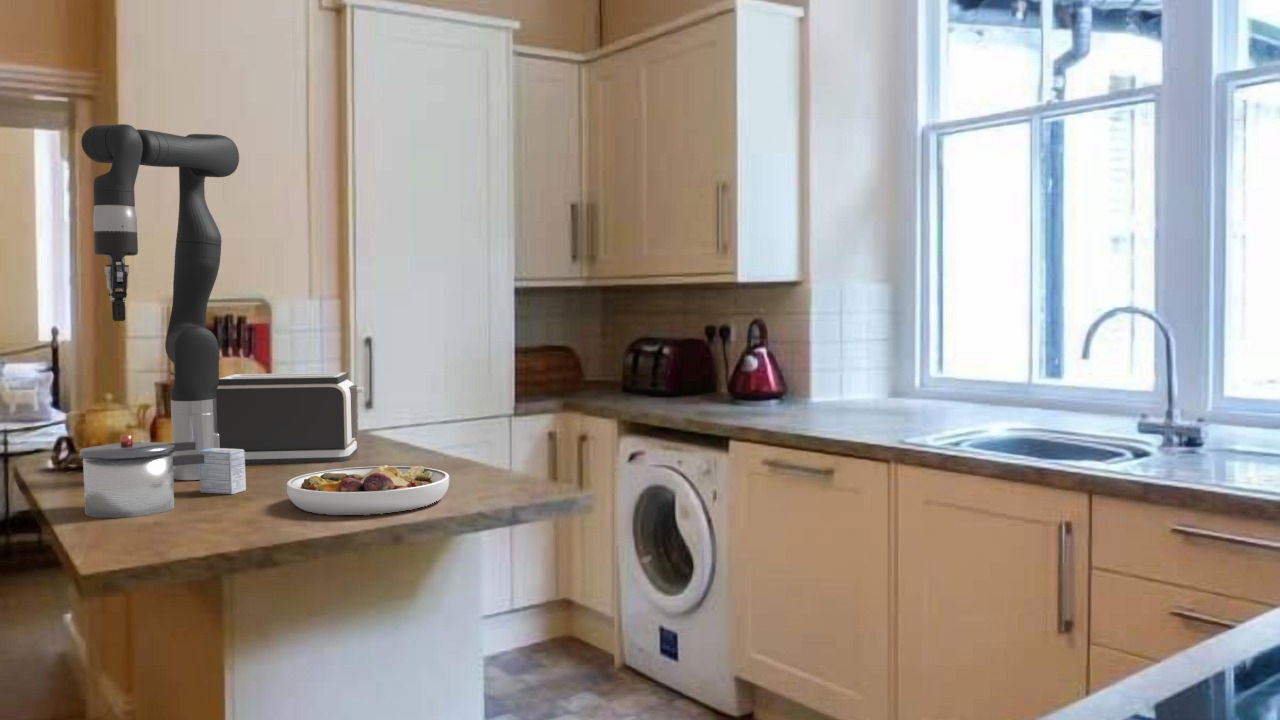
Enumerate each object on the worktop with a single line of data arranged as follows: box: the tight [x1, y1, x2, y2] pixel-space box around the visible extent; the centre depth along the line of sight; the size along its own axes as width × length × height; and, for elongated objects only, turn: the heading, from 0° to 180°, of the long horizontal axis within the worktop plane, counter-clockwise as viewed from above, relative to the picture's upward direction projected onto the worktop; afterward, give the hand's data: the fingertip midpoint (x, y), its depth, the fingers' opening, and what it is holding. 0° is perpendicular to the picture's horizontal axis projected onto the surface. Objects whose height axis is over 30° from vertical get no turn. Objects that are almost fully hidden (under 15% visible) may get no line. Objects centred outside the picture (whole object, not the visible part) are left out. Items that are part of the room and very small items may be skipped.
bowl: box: [286, 464, 450, 516], centre depth 204 cm, size 30×30×8 cm
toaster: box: [216, 371, 364, 466], centre depth 262 cm, size 19×35×20 cm, turn 97°
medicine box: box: [199, 448, 247, 495], centre depth 217 cm, size 8×4×9 cm, turn 71°
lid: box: [79, 434, 196, 459], centre depth 200 cm, size 20×17×3 cm
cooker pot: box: [82, 452, 204, 519], centre depth 201 cm, size 20×17×10 cm
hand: (118, 320), depth 206 cm, fingers closed
